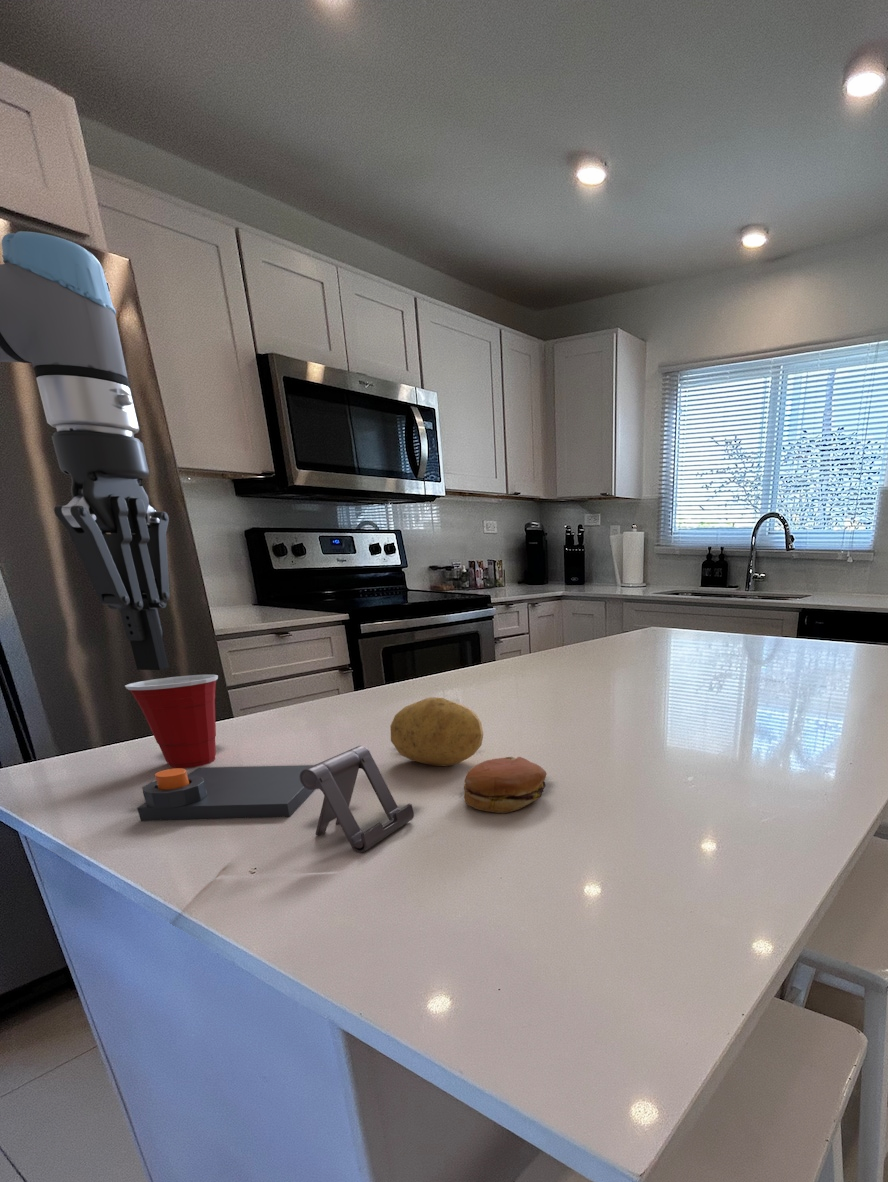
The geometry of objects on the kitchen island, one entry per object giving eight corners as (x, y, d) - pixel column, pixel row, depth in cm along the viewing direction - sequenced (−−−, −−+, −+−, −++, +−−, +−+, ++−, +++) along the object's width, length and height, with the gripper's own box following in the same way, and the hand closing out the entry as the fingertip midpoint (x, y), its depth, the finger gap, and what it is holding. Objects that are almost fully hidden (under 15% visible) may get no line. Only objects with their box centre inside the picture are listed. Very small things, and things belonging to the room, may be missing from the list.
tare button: (153, 792, 73) (149, 777, 72) (167, 782, 75) (163, 768, 75) (181, 791, 73) (177, 776, 72) (194, 782, 76) (191, 767, 75)
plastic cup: (212, 746, 100) (195, 667, 96) (249, 759, 94) (232, 675, 90) (132, 764, 92) (109, 678, 87) (167, 779, 86) (144, 688, 81)
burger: (464, 816, 74) (462, 777, 73) (465, 789, 83) (463, 753, 81) (551, 811, 76) (550, 773, 74) (543, 785, 85) (542, 750, 83)
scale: (138, 823, 72) (130, 793, 71) (201, 779, 86) (195, 754, 84) (288, 819, 74) (283, 790, 72) (327, 777, 87) (323, 751, 86)
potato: (414, 688, 96) (374, 694, 87) (496, 699, 92) (463, 707, 84) (414, 751, 99) (375, 764, 90) (494, 765, 95) (462, 779, 86)
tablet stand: (366, 855, 65) (355, 775, 62) (300, 845, 67) (286, 767, 64) (414, 822, 73) (407, 750, 70) (354, 814, 75) (344, 743, 72)
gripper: (78, 421, 60) (142, 680, 68) (176, 443, 72) (220, 660, 80) (2, 422, 60) (74, 678, 69) (111, 443, 72) (162, 659, 81)
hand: (153, 668), depth 75 cm, fingers closed
